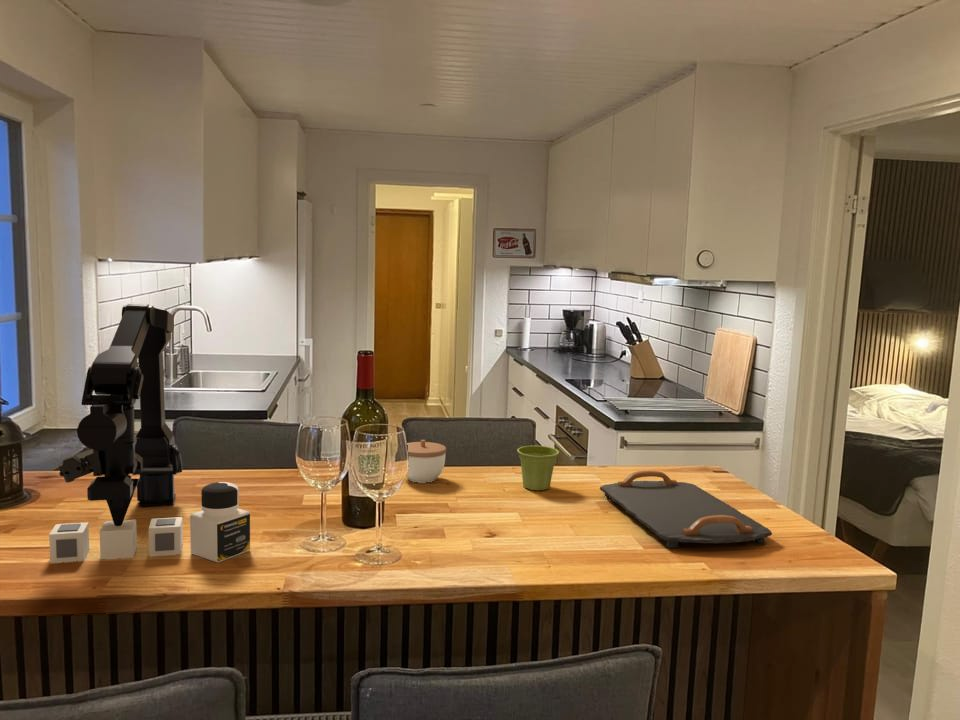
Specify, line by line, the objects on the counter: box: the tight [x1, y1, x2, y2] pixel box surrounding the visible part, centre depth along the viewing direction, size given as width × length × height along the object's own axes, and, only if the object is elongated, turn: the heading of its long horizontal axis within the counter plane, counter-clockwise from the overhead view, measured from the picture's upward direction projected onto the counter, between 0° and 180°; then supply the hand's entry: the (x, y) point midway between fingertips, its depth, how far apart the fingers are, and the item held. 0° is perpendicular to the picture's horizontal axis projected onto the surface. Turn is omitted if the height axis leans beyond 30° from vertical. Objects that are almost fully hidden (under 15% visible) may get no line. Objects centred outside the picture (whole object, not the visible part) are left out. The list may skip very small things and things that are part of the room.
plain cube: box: [99, 519, 138, 560], centre depth 136 cm, size 5×5×5 cm
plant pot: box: [516, 445, 560, 491], centre depth 182 cm, size 9×9×9 cm
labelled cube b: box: [48, 521, 90, 564], centre depth 133 cm, size 5×5×5 cm
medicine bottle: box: [189, 481, 251, 563], centre depth 137 cm, size 7×7×12 cm
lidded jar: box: [406, 439, 447, 484], centre depth 185 cm, size 11×11×9 cm
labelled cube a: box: [148, 516, 184, 557], centre depth 138 cm, size 5×5×5 cm
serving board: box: [599, 470, 773, 550], centre depth 164 cm, size 39×23×6 cm, turn 13°
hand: (118, 525), depth 135 cm, fingers closed
